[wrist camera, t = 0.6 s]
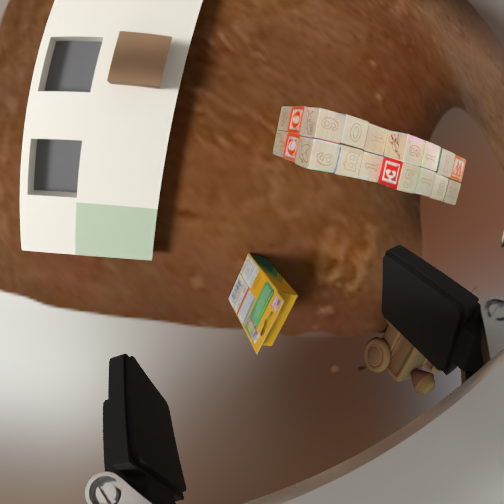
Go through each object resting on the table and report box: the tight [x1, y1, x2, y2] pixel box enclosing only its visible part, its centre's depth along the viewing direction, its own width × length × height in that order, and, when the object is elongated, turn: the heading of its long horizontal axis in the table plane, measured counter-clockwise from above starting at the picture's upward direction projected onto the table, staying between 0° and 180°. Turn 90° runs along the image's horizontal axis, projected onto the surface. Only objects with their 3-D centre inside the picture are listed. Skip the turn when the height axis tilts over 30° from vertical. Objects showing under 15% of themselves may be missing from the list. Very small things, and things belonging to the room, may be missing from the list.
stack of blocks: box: [273, 106, 466, 205], centre depth 34 cm, size 21×6×12 cm, turn 79°
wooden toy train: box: [364, 320, 440, 394], centre depth 50 cm, size 20×11×17 cm, turn 168°
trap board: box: [20, 0, 203, 260], centre depth 27 cm, size 31×16×2 cm, turn 167°
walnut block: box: [107, 31, 172, 89], centre depth 24 cm, size 5×5×3 cm
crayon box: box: [229, 253, 298, 354], centre depth 37 cm, size 7×3×12 cm, turn 156°
